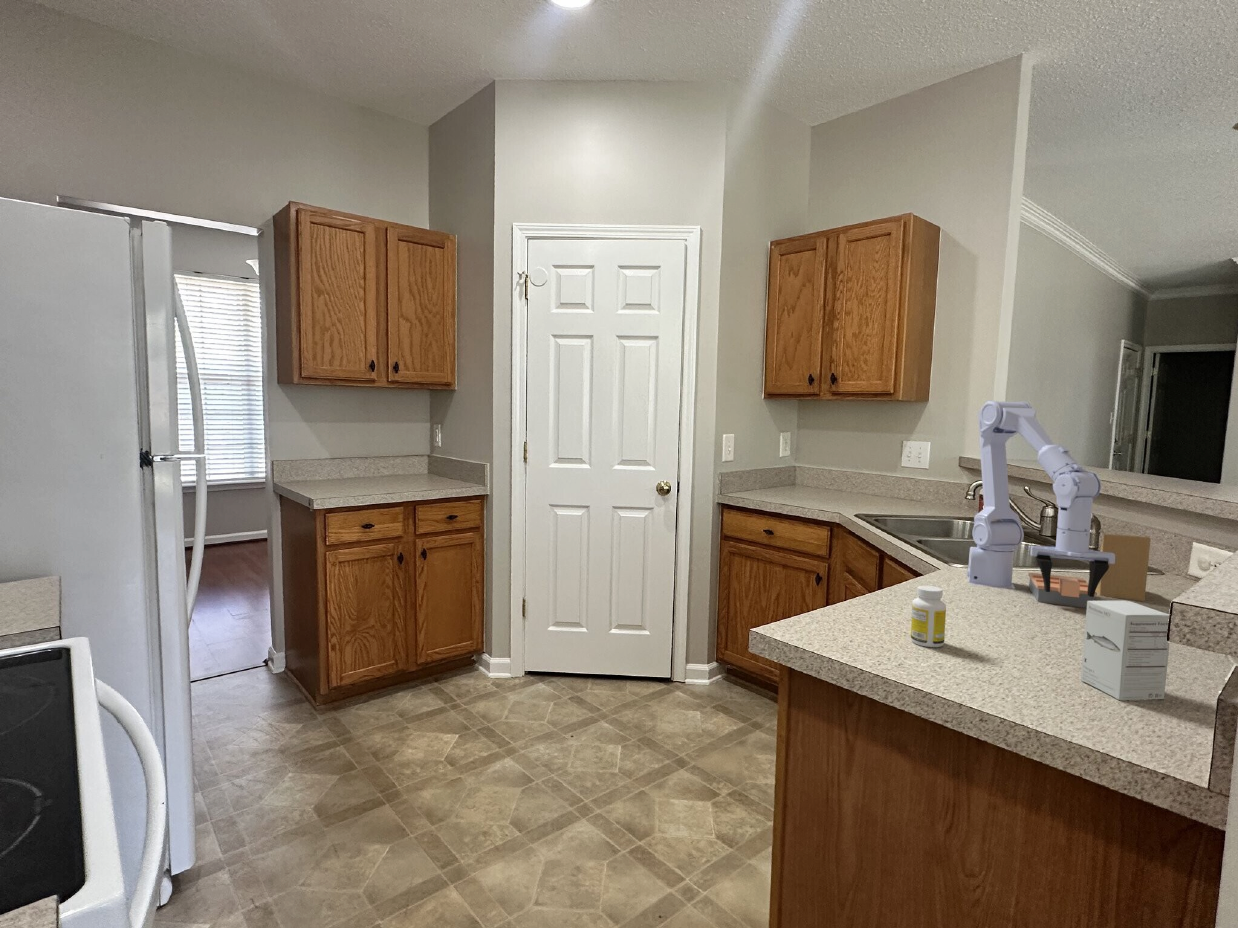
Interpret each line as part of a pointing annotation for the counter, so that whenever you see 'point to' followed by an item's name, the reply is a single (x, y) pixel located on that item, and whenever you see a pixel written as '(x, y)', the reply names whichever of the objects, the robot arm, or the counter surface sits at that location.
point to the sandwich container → (1125, 567)
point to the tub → (1059, 597)
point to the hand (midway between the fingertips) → (1068, 593)
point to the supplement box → (1125, 650)
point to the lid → (1062, 584)
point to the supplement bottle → (928, 617)
